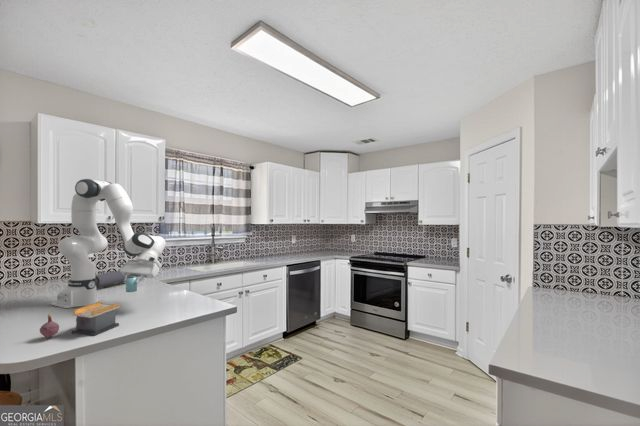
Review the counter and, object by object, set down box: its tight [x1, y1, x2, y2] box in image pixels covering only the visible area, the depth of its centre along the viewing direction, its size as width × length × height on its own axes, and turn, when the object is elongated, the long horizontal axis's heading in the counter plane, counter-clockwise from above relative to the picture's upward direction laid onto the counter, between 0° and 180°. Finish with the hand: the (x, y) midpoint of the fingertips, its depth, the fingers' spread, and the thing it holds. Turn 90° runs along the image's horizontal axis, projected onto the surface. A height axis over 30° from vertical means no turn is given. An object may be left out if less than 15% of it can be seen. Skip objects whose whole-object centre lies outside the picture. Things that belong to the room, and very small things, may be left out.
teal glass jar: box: [125, 275, 139, 293], centre depth 157 cm, size 5×5×8 cm
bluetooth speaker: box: [95, 270, 126, 289], centre depth 209 cm, size 23×9×10 cm, turn 160°
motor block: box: [71, 300, 120, 337], centre depth 134 cm, size 14×14×10 cm
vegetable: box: [39, 314, 60, 339], centre depth 123 cm, size 6×6×10 cm
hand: (130, 282), depth 156 cm, fingers closed on teal glass jar, 5 cm apart
